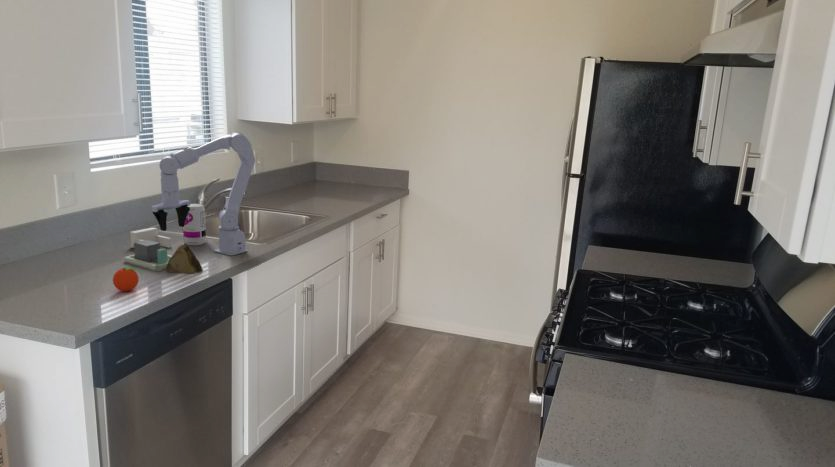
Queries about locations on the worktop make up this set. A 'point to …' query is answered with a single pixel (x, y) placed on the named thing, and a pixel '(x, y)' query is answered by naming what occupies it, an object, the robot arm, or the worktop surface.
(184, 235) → the supplement can
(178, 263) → the rock
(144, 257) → the toner caddy
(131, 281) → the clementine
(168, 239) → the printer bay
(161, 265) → the tray
